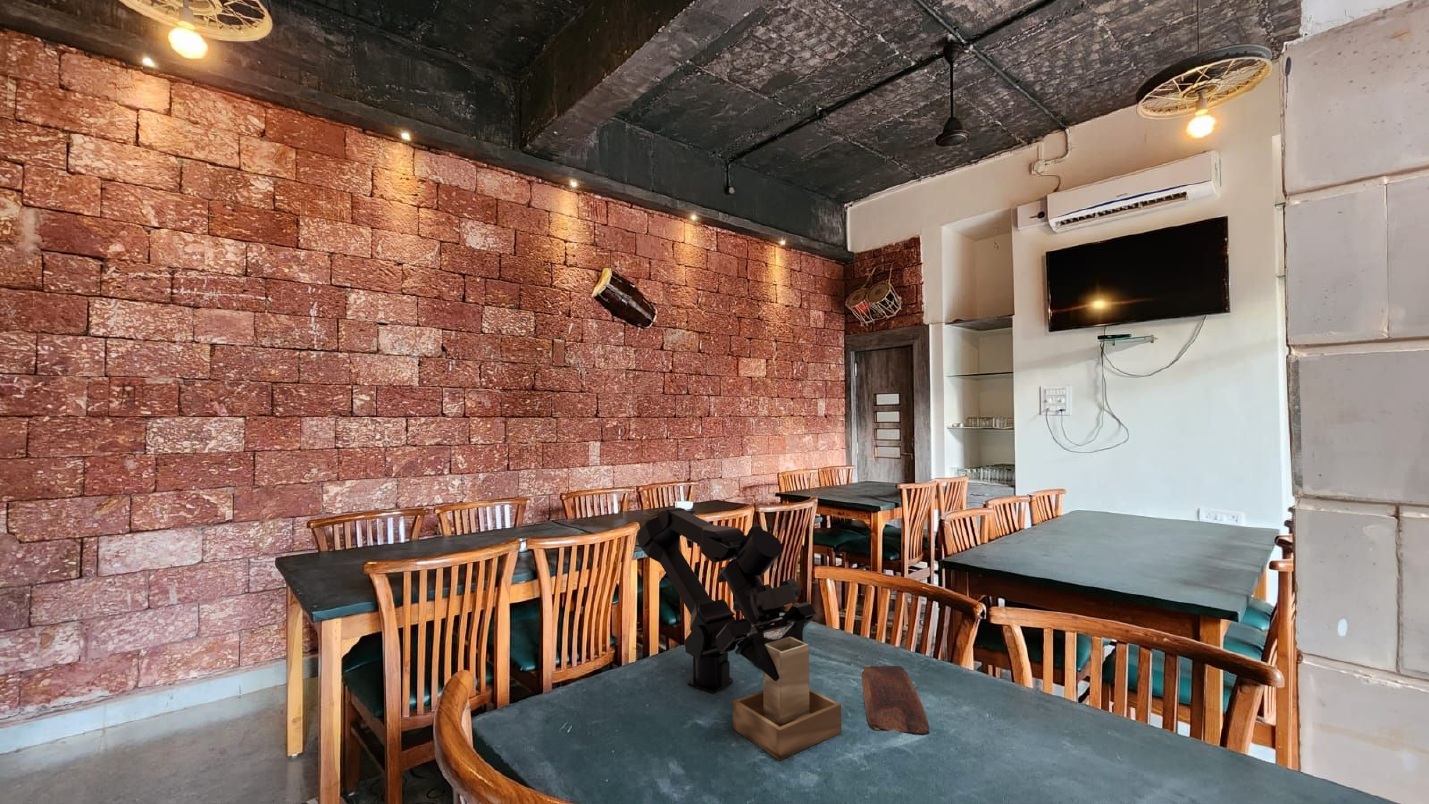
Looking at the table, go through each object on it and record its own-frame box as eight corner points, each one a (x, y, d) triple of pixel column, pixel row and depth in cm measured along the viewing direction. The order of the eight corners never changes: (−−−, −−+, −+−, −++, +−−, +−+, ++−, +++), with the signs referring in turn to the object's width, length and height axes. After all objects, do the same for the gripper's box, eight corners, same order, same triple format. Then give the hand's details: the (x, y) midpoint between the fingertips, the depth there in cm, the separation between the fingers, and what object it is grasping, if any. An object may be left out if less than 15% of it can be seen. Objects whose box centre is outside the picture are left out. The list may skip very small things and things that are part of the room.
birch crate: (763, 712, 96) (763, 644, 97) (790, 701, 100) (790, 636, 100) (782, 723, 93) (781, 653, 93) (809, 712, 96) (808, 644, 97)
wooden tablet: (859, 659, 122) (908, 657, 120) (860, 670, 122) (910, 668, 120) (866, 724, 96) (930, 723, 94) (868, 738, 96) (932, 737, 94)
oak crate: (733, 728, 97) (732, 701, 97) (792, 705, 105) (792, 679, 105) (779, 761, 88) (779, 730, 88) (841, 732, 95) (841, 704, 96)
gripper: (725, 572, 95) (771, 665, 85) (808, 556, 106) (857, 637, 96) (698, 609, 101) (738, 699, 92) (779, 590, 112) (822, 669, 103)
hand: (791, 674), depth 95 cm, fingers closed on birch crate, 6 cm apart
